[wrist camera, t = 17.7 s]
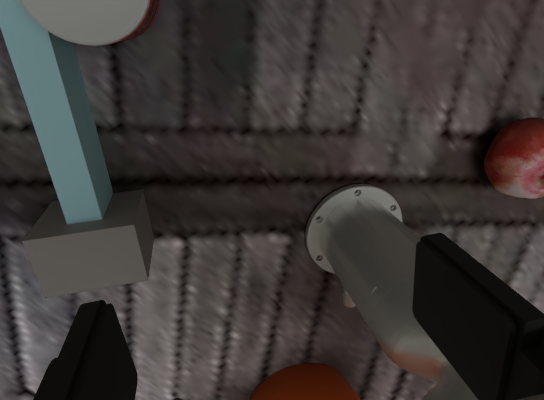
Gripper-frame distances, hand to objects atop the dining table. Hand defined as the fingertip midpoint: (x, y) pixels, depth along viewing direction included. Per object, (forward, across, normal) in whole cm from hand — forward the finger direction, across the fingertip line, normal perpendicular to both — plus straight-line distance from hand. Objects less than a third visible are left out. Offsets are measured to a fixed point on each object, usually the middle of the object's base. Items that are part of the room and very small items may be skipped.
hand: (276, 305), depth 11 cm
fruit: (+31, -35, +9) cm, 47 cm away
